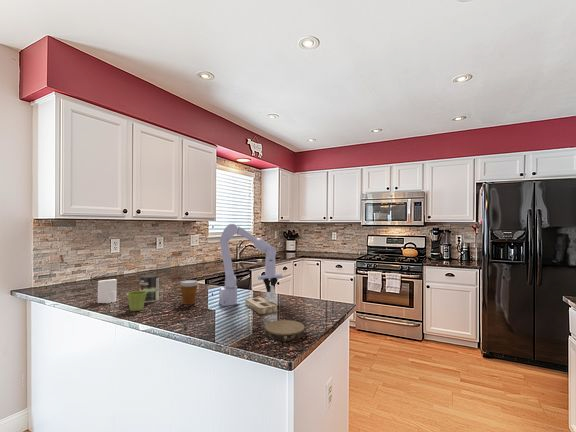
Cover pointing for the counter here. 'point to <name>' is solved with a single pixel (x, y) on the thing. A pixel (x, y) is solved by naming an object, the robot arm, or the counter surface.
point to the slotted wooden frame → (261, 305)
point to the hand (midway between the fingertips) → (270, 291)
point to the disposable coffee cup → (189, 291)
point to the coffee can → (150, 286)
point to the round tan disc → (284, 330)
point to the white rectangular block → (107, 291)
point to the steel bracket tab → (271, 292)
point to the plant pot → (136, 300)
